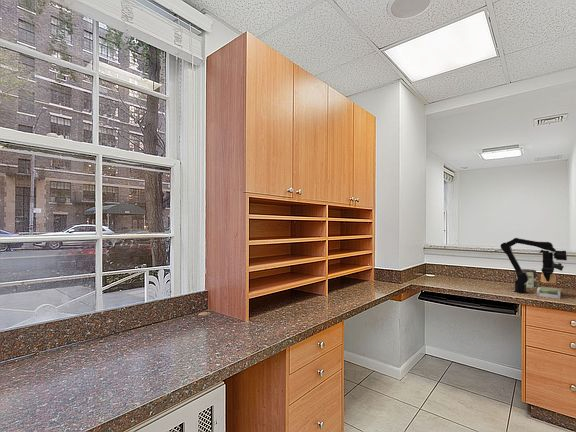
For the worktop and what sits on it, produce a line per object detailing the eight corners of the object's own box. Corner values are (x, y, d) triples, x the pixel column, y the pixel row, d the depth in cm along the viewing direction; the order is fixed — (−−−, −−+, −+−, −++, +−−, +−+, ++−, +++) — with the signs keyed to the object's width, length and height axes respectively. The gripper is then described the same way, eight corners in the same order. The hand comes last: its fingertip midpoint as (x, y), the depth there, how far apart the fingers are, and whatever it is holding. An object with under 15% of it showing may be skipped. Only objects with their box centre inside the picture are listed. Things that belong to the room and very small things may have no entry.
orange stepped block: (555, 283, 216) (555, 275, 216) (540, 282, 221) (540, 273, 221) (555, 282, 220) (555, 274, 220) (541, 281, 225) (541, 272, 226)
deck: (560, 298, 212) (559, 292, 212) (537, 295, 220) (536, 289, 220) (561, 292, 232) (560, 286, 233) (540, 289, 241) (539, 284, 241)
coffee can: (530, 285, 258) (529, 269, 259) (539, 288, 248) (539, 270, 248) (517, 285, 258) (517, 269, 259) (527, 288, 248) (526, 270, 248)
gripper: (562, 261, 209) (562, 284, 208) (562, 259, 222) (563, 280, 222) (541, 259, 216) (541, 282, 216) (543, 258, 230) (543, 278, 229)
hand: (548, 280), depth 221 cm, fingers closed on orange stepped block, 6 cm apart
